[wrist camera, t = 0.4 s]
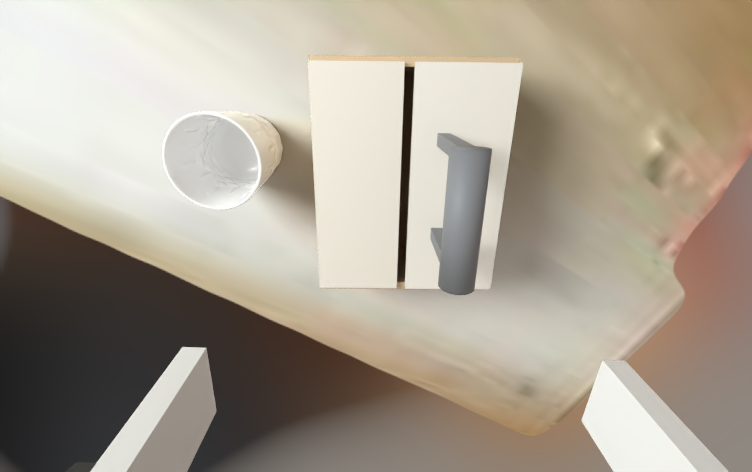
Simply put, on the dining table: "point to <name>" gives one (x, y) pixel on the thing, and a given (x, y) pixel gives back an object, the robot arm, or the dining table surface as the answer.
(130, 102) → the dining table surface
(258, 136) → the white cup
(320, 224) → the cabinet
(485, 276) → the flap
